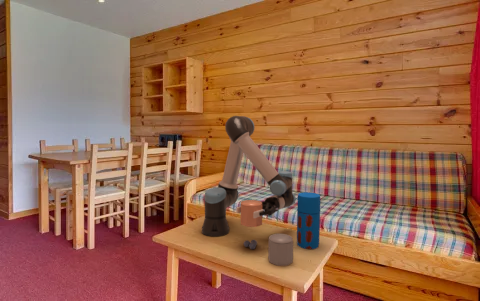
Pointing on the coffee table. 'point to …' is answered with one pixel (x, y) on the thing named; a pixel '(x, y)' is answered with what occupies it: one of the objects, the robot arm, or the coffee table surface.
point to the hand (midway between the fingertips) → (245, 212)
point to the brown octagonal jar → (280, 249)
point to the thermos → (308, 220)
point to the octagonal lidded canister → (250, 213)
